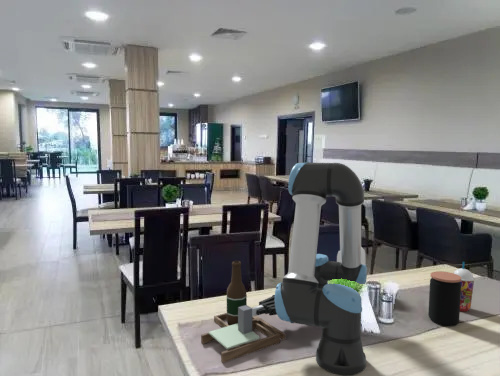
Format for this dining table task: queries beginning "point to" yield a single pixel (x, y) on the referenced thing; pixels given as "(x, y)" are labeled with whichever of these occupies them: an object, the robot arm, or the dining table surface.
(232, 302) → the beer bottle
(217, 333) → the cover
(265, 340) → the brown flat frame
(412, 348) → the dining table surface
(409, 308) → the dining table surface
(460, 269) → the smoothie
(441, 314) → the coffee jar
